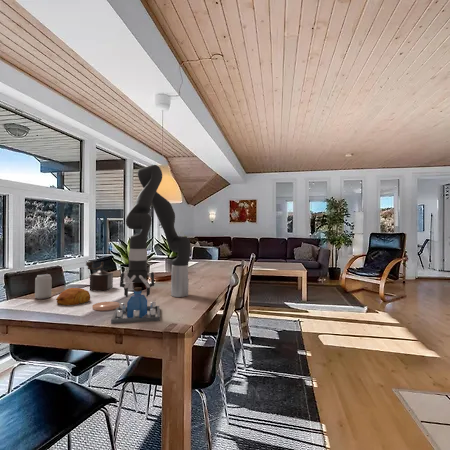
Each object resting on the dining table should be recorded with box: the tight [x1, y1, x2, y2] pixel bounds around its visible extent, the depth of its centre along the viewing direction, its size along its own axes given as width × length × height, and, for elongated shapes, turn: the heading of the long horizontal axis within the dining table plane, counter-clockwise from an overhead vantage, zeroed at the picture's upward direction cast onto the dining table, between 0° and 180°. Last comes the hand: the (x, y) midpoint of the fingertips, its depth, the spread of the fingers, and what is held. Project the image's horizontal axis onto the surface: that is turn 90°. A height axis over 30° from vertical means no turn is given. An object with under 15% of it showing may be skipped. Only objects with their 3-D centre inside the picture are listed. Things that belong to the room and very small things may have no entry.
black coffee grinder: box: [85, 260, 114, 292], centre depth 180 cm, size 16×11×18 cm
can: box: [34, 273, 53, 300], centre depth 159 cm, size 8×8×12 cm
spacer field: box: [110, 301, 161, 324], centre depth 130 cm, size 19×18×4 cm
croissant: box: [55, 287, 91, 306], centre depth 151 cm, size 14×16×8 cm
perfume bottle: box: [126, 286, 148, 318], centre depth 131 cm, size 6×6×12 cm
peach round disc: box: [92, 301, 120, 312], centre depth 143 cm, size 12×12×1 cm
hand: (137, 296), depth 130 cm, fingers open, 8 cm apart
